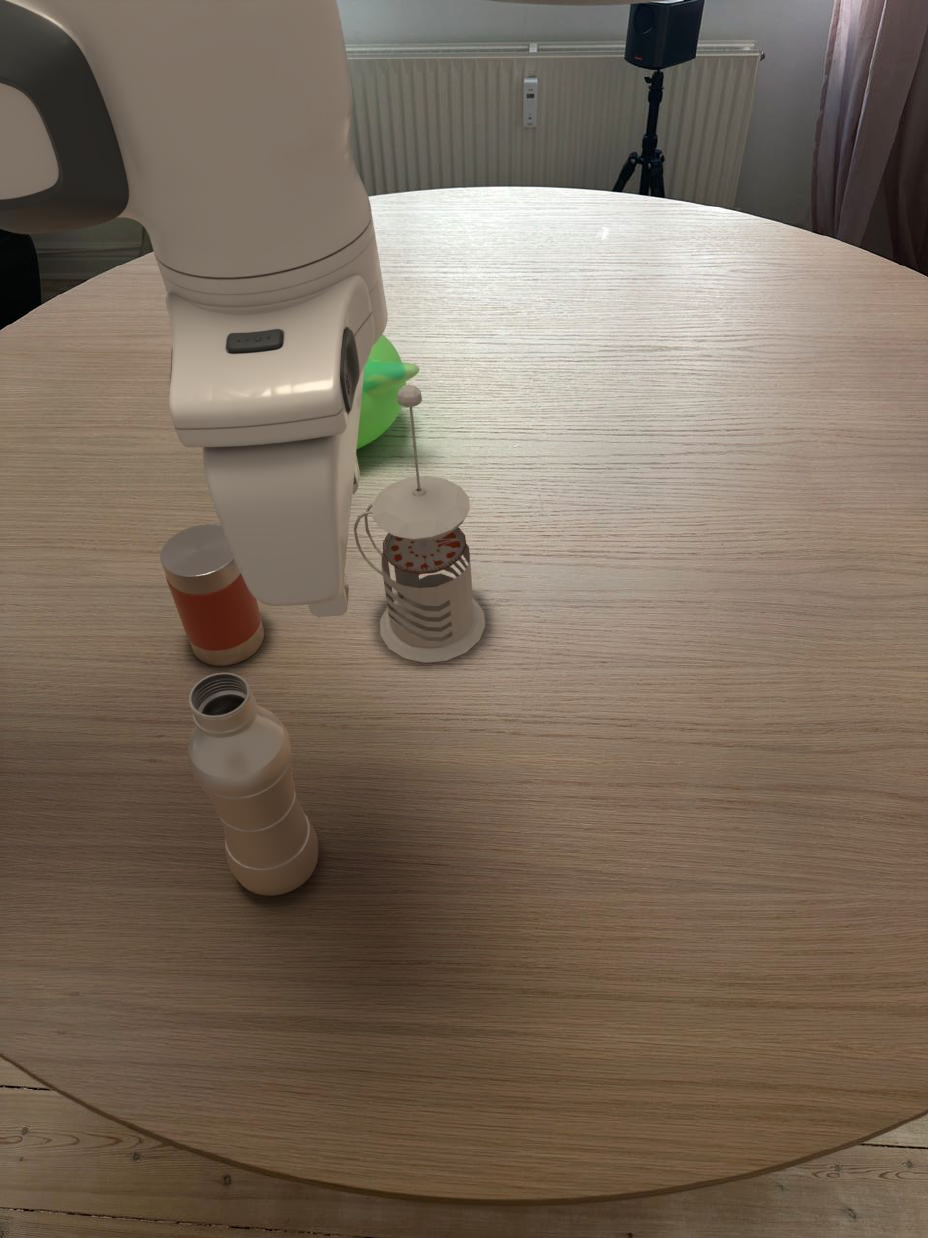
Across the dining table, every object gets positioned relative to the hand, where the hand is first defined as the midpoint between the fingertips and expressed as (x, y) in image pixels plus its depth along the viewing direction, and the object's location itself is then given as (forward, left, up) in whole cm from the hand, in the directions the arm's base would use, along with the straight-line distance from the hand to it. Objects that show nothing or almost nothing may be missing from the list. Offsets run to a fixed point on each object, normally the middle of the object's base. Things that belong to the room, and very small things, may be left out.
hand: (338, 542), depth 51 cm
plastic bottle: (-9, 0, -31) cm, 32 cm away
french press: (+2, +25, -31) cm, 40 cm away
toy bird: (-8, +54, -31) cm, 63 cm away
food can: (-16, +24, -31) cm, 42 cm away
